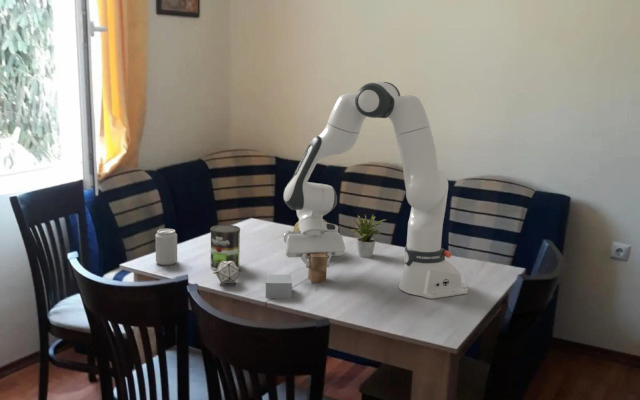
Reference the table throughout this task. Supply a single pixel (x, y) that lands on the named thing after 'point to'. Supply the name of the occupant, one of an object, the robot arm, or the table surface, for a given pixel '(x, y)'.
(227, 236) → the coffee can
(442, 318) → the table surface
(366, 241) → the house plant
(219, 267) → the game die
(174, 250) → the can
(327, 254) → the robot arm
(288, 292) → the base block
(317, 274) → the walnut block
